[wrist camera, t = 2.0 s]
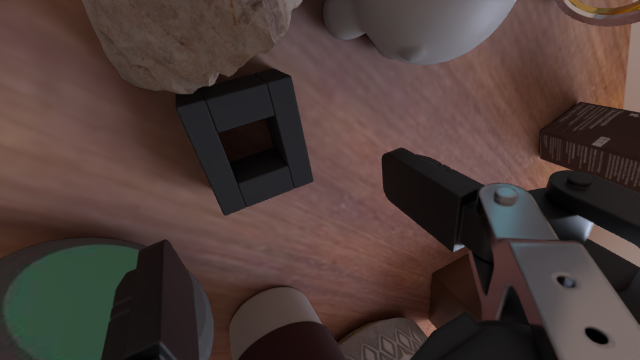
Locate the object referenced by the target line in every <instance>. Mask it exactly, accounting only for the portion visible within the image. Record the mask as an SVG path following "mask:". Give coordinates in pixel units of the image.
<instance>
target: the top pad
mask: <svg viewBox="0 0 640 360" xmlns="http://www.w3.org/2000/svg"><path fill="white" fill-rule="evenodd" d="M176 110H177V113H178V115H179V117H180V119H181V121H182V124H183V126H184V128H185V130H186V132H187V135H188V137H189V139H190V141H191V143H192V146H193V148H194V150H195V152H196V155H197V157H198V159H199V161H200V163H201V166H202V168H203V170H204V172H205V174H206V177H207V179H208V181H209V183H210V186H211V188H212V190H213V192H214V194H215V197H216V199H217V201H218V203H219V205H220V208H221V210H222V212H223V214H224V215H225V216H226V215H228V214H231V213H233V212H236V211H239V210H241V209H244V208H246V207H249V206H251V205H254V204H256V203H259V202H262V201H264V200H267V199H269V198H272V197H274V196H277V195H280V194H282V193H285V192H287V191H290V190H292V189H294V188H298V187H300V186H303V185H306V184H308V183H311V182H313V177H312V172H311V167H310V162H309V158H308V153H307V148H306V144H305V139H304V134H303V130H302V125H301V120H300V115H299V111H298V106H297V101H296V97H295V92H294V87H293V82H292V78H291V76H290V75H287V74H285V73H283V72H281V71H279V70H276V69H270V70H266V71H262V72H258V73H255V74H254V75H253V74H251V75H247V76H243V77H240V78H236V79H232V80H228V81H224V82H221V83H217V84H213V85H211V86H205V87H202V88H201V90H200V88H198V89H197V90H196V91H194V93H193V94H176ZM264 118H266V121H267V124H268V128H269V131H270V135H271V139H272V142H273V146H274V148H271V149H268V150H265V151H263V152H260V153H257V154H254V155H251V156H248V157H245V158H242V159H239V160H236V161H233V162H230V164H229V161H228V159H227V156H226V154H225V151H224V148H223V146H222V143H221V141H220V138H219V136H218V133H217V132H222V131H225V130H229V129H232V128H235V127H238V126H242V125H245V124H248V123H251V122H255V121H258V120H261V119H264Z"/></svg>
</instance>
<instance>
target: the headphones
mask: <svg viewBox="0 0 640 360" xmlns="http://www.w3.org/2000/svg"><path fill="white" fill-rule="evenodd" d="M145 247H146V246H144V245H140V244H136V243H133V242H129V241H124V240H117V239H111V238H95V237H83V238H67V239H61V240H55V241H49V242H44V243H41V244H37V245H34V246H30V247H27V248H24V249H21V250H19V251H17V252H14V253H12V254H10V255H8V256H6V257H3V258H1V259H0V360H101V357H102V352H103V347H104V343H105V338H106V333H107V328H108V324H109V321H111V319H110V314H111V309H112V307H113V300H114V295H115V290H116V288H117V286H118V285H119V283H120V282H121V280H122V278H123V277H124V275H125V274H126V272H129V271H131V270H134V269H136V266H137V259H138V252H139V250H140V249H142V248H145ZM187 271H188V270H187ZM188 273H189V275H190V277H191V280H192V283H193V288H194V298H195V310H196V322H197V334H198V346H199V358H200V360H209V357H210V354H211V350H212V345H213V340H214V320H213V315H212V311H211V307H210V303H209V300H208V297H207V295H206V293H205V291H204V289H203V287H202V286H201V285H200V283H199V282H198V281H197V279H196V278H195V277H194V276H193V275H192V274H191V273H190V272H189V271H188Z"/></svg>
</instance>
